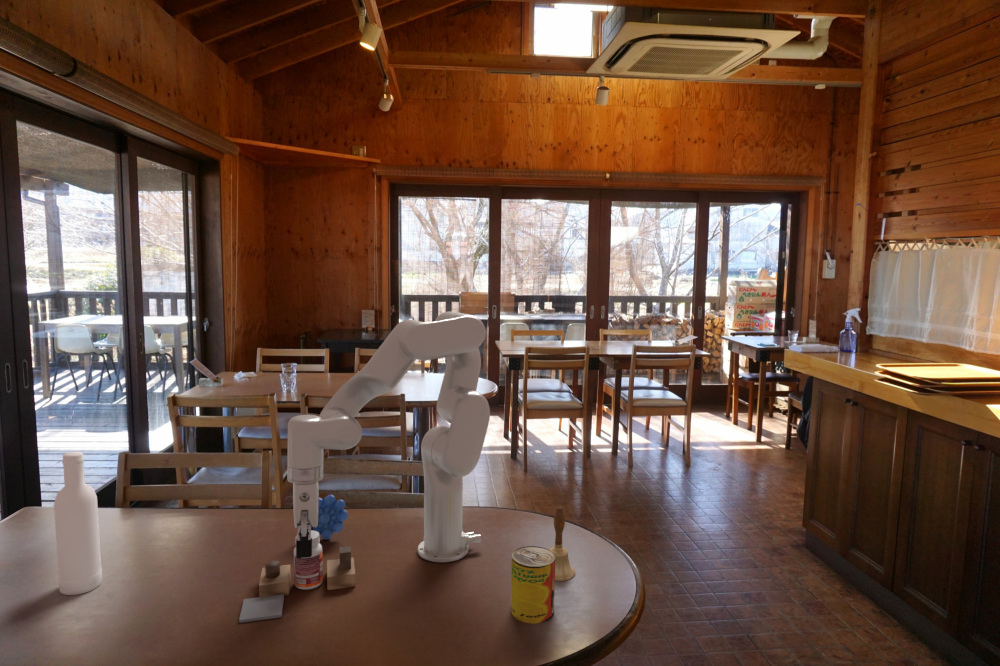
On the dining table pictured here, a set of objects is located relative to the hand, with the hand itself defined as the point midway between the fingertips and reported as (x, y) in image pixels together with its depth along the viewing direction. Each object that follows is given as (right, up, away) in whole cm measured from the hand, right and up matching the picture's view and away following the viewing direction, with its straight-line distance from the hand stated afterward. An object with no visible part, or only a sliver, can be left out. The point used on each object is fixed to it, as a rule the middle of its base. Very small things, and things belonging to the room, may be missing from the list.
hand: (304, 547), depth 137 cm
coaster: (-6, -10, -9) cm, 15 cm away
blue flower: (-2, -6, +24) cm, 25 cm away
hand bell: (+57, -9, +8) cm, 58 cm away
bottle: (-49, -8, -1) cm, 49 cm away
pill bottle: (0, -9, +1) cm, 9 cm away
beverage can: (+50, -11, -8) cm, 52 cm away
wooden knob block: (0, -9, +1) cm, 9 cm away
